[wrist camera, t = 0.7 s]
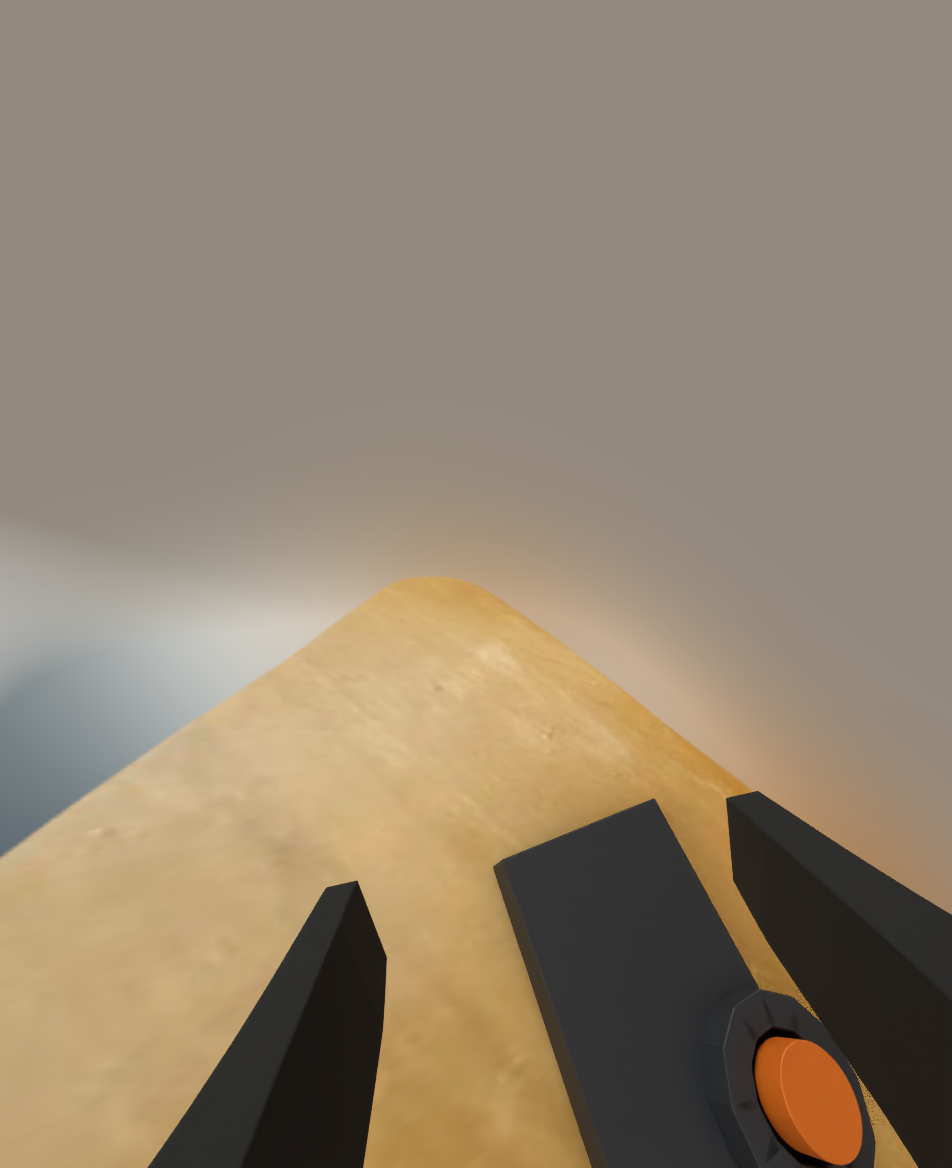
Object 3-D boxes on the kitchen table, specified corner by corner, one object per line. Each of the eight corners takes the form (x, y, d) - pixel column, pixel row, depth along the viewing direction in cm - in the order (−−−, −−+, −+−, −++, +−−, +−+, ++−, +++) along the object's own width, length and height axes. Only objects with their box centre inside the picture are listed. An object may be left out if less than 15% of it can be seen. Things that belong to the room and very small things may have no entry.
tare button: (846, 1124, 18) (880, 1134, 17) (795, 1175, 17) (827, 1188, 16) (788, 1021, 20) (815, 1023, 19) (738, 1060, 19) (764, 1065, 18)
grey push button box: (842, 1150, 20) (916, 1175, 17) (650, 1345, 16) (710, 1415, 13) (652, 801, 28) (683, 783, 26) (492, 866, 24) (511, 852, 22)
